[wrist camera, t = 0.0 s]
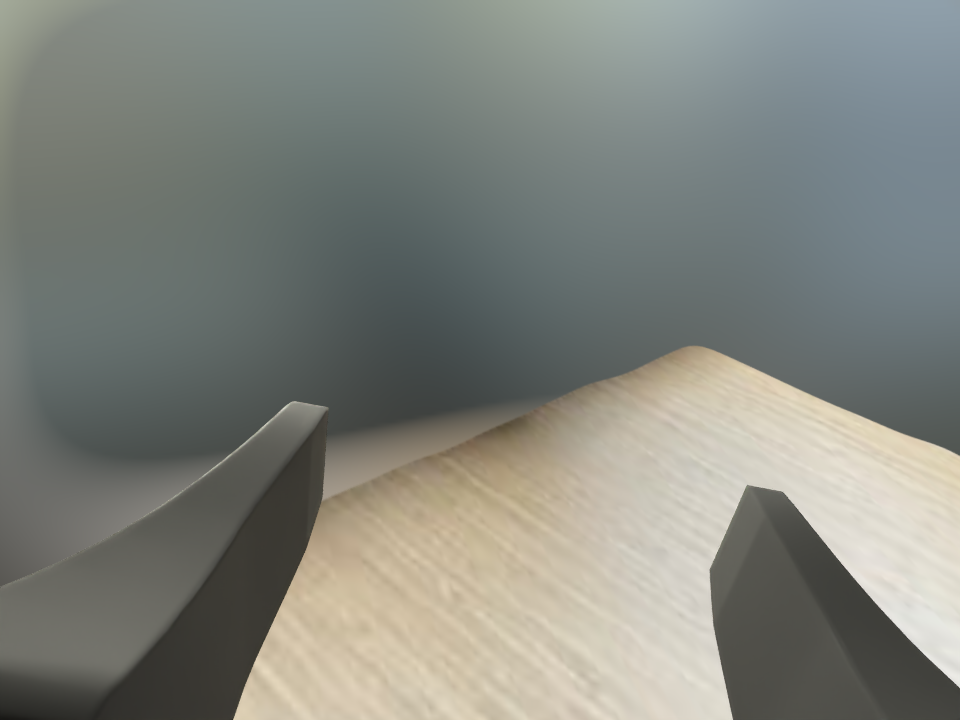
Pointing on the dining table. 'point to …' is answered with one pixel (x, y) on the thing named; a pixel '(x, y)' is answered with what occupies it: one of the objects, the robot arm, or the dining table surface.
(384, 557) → the dining table surface
